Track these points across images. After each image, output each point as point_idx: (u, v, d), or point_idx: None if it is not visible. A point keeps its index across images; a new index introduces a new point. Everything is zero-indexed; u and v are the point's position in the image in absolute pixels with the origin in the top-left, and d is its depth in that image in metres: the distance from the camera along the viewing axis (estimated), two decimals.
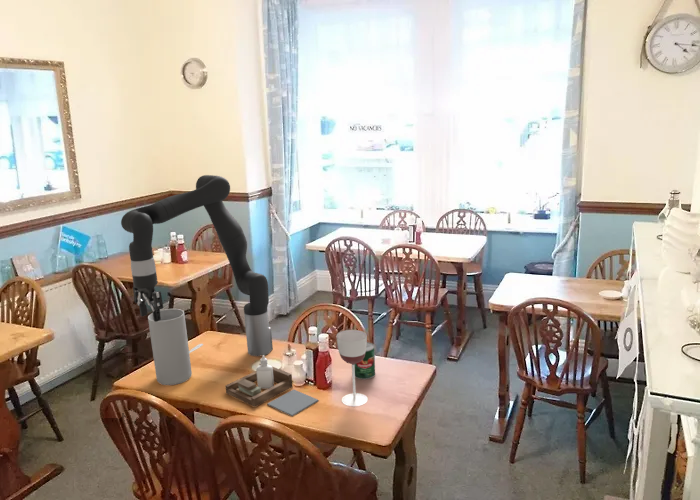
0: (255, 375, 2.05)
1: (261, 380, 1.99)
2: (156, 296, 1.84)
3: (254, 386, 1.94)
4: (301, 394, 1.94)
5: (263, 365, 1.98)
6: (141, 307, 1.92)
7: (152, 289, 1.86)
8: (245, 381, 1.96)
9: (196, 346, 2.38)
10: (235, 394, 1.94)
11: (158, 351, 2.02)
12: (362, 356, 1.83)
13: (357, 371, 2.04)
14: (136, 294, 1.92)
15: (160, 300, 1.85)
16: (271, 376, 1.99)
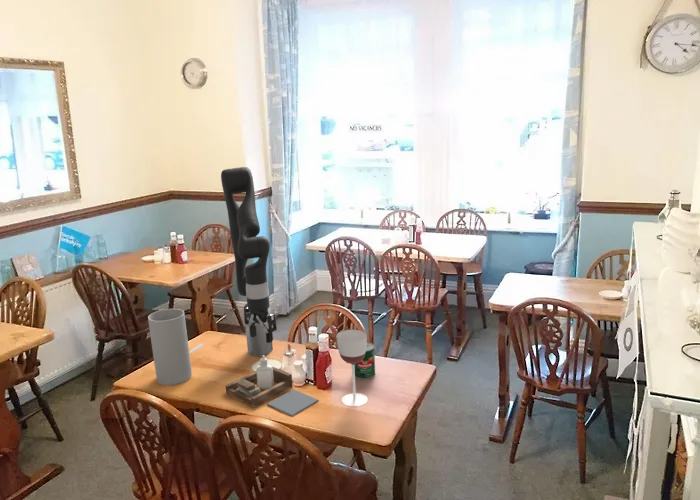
0: (255, 375, 2.05)
1: (261, 380, 1.99)
2: (271, 318, 1.90)
3: (253, 386, 1.94)
4: (301, 394, 1.94)
5: (263, 365, 1.98)
6: (251, 328, 1.98)
7: (266, 311, 1.92)
8: (244, 381, 1.96)
9: (197, 346, 2.38)
10: (235, 394, 1.94)
11: (158, 351, 2.02)
12: (362, 356, 1.83)
13: (357, 371, 2.04)
14: (247, 316, 1.98)
15: (274, 322, 1.91)
16: (271, 376, 1.99)
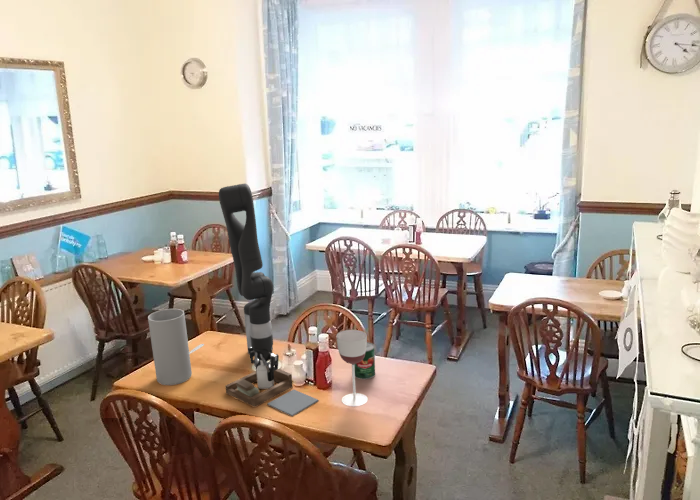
0: (255, 375, 2.05)
1: (261, 380, 1.99)
2: (274, 360, 1.94)
3: (252, 387, 1.94)
4: (301, 394, 1.94)
5: (263, 365, 1.98)
6: None
7: (269, 350, 1.95)
8: (244, 381, 1.96)
9: (197, 346, 2.38)
10: (235, 394, 1.94)
11: (158, 351, 2.02)
12: (362, 356, 1.83)
13: (357, 371, 2.04)
14: (252, 355, 2.02)
15: (276, 363, 1.95)
16: None
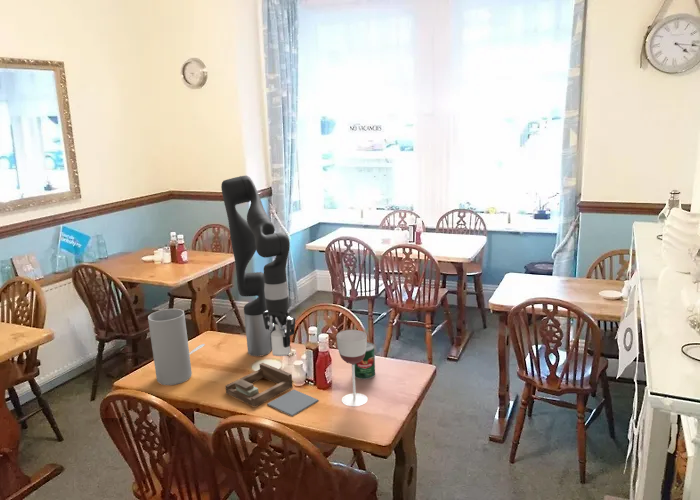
0: (255, 375, 2.05)
1: (276, 347, 1.85)
2: (291, 323, 1.80)
3: (251, 387, 1.94)
4: (301, 394, 1.94)
5: (278, 330, 1.84)
6: None
7: (285, 313, 1.82)
8: (243, 382, 1.96)
9: (198, 346, 2.38)
10: (235, 394, 1.94)
11: (158, 351, 2.02)
12: (362, 356, 1.83)
13: (357, 371, 2.04)
14: (266, 320, 1.88)
15: (293, 327, 1.81)
16: None
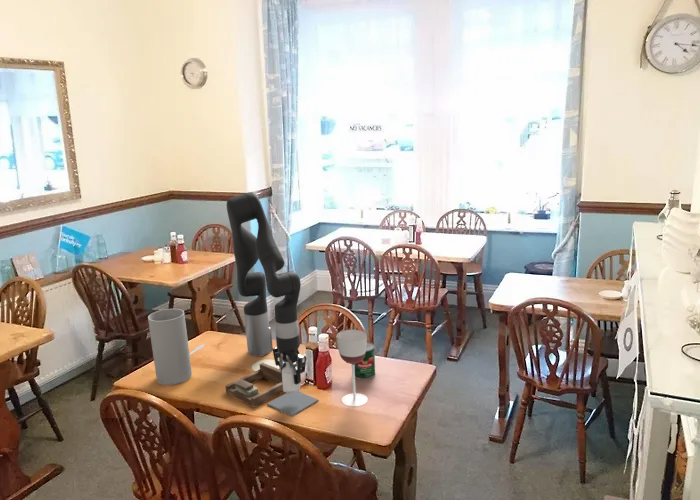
0: (255, 375, 2.05)
1: (287, 384, 1.86)
2: (302, 361, 1.81)
3: (251, 386, 1.94)
4: (301, 394, 1.94)
5: (289, 367, 1.85)
6: None
7: (296, 351, 1.83)
8: (242, 381, 1.96)
9: (198, 346, 2.38)
10: (235, 394, 1.94)
11: (158, 351, 2.02)
12: (362, 356, 1.83)
13: (357, 371, 2.04)
14: (277, 356, 1.89)
15: (304, 364, 1.82)
16: None
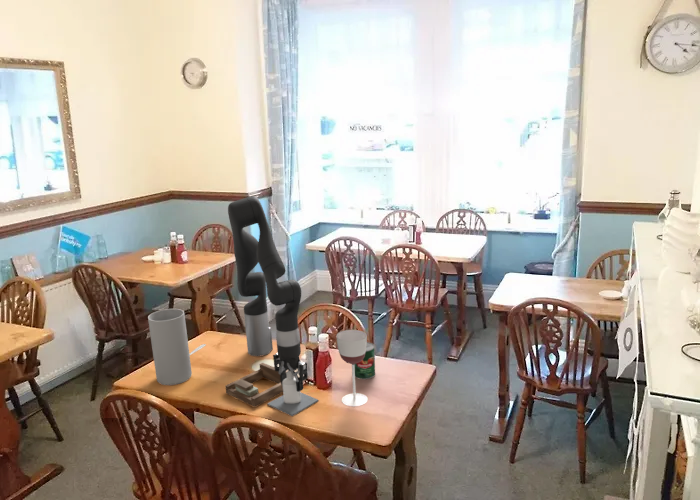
0: (255, 375, 2.05)
1: (288, 395, 1.87)
2: (303, 368, 1.81)
3: (251, 386, 1.94)
4: (301, 394, 1.94)
5: (290, 378, 1.86)
6: (282, 376, 1.89)
7: (297, 359, 1.83)
8: (242, 381, 1.96)
9: (199, 346, 2.38)
10: (235, 394, 1.94)
11: (158, 351, 2.02)
12: (362, 356, 1.83)
13: (357, 371, 2.04)
14: (277, 362, 1.89)
15: (306, 371, 1.83)
16: None
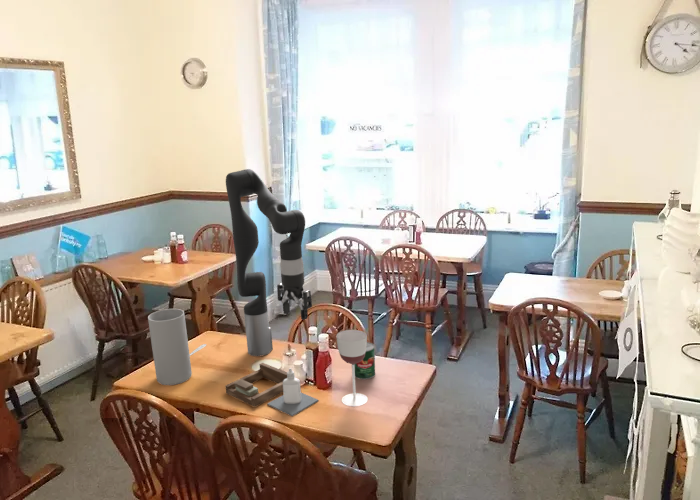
0: (255, 375, 2.05)
1: (288, 395, 1.87)
2: (306, 295, 1.85)
3: (251, 386, 1.94)
4: (301, 394, 1.94)
5: (290, 379, 1.86)
6: (285, 305, 1.94)
7: (301, 288, 1.87)
8: (242, 381, 1.96)
9: (199, 346, 2.38)
10: (235, 394, 1.94)
11: (158, 351, 2.02)
12: (362, 356, 1.83)
13: (357, 371, 2.04)
14: (280, 292, 1.94)
15: (309, 299, 1.86)
16: (298, 390, 1.87)
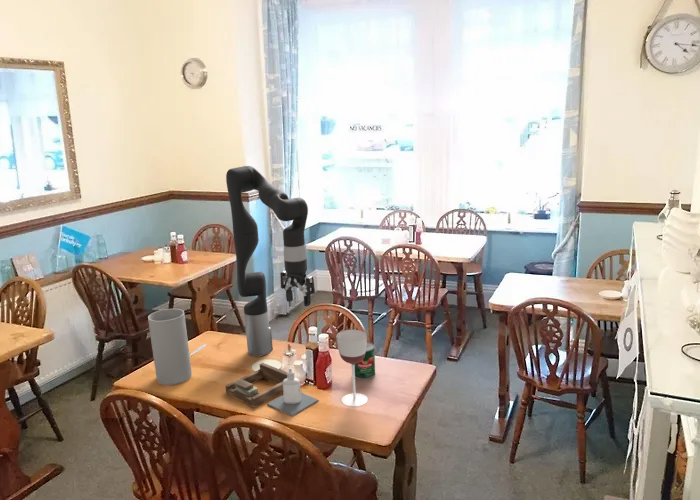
0: (255, 375, 2.05)
1: (288, 395, 1.87)
2: (309, 281, 1.88)
3: (251, 386, 1.94)
4: (301, 394, 1.94)
5: (290, 379, 1.86)
6: (288, 292, 1.97)
7: (304, 274, 1.90)
8: (242, 381, 1.96)
9: (200, 347, 2.38)
10: (235, 394, 1.94)
11: (158, 351, 2.02)
12: (362, 356, 1.83)
13: (357, 371, 2.04)
14: (283, 280, 1.97)
15: (312, 285, 1.89)
16: (298, 390, 1.87)
